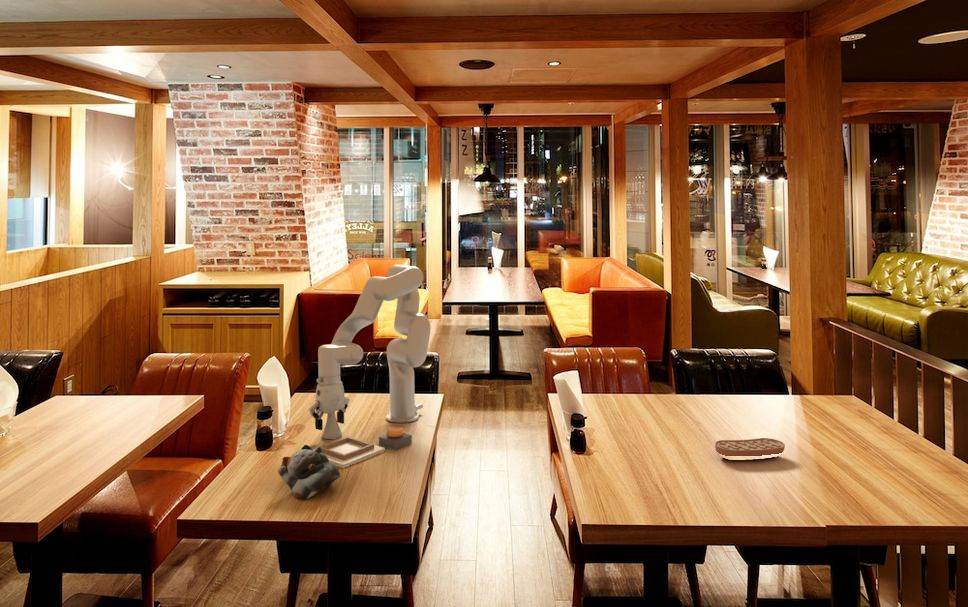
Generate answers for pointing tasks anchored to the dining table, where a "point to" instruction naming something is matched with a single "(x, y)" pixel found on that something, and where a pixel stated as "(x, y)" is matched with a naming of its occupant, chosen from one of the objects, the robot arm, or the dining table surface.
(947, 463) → the dining table surface
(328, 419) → the flask
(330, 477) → the lucky cat figurine
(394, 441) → the button base
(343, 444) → the tray
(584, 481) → the dining table surface
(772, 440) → the brown flat oval piece
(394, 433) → the button
